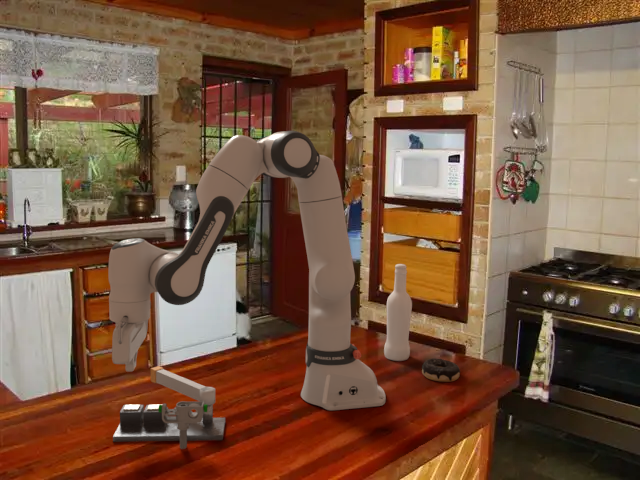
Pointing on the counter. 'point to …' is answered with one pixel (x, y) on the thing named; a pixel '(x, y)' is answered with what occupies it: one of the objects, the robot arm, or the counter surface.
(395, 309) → the bottle
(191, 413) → the mechanical component
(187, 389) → the lever
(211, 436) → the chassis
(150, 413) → the block
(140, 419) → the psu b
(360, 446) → the counter surface
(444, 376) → the donut
